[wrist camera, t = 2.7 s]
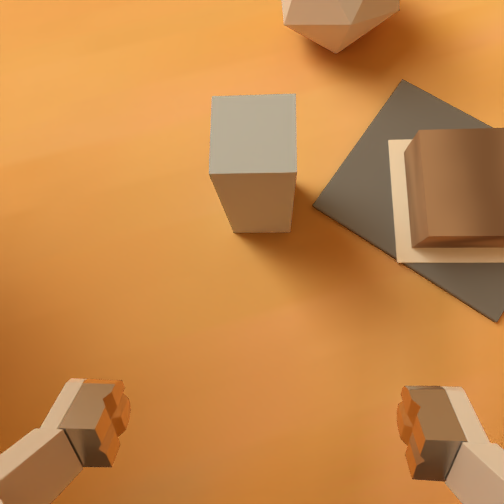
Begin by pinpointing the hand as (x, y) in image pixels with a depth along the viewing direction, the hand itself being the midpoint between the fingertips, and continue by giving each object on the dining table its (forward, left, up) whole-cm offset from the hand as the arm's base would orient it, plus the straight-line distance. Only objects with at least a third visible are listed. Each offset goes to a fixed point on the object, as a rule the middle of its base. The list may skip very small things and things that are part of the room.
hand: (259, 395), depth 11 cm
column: (-7, +9, -14) cm, 18 cm away
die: (-11, +24, -14) cm, 30 cm away
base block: (+4, +17, -14) cm, 22 cm away
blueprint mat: (+3, +17, -14) cm, 22 cm away
